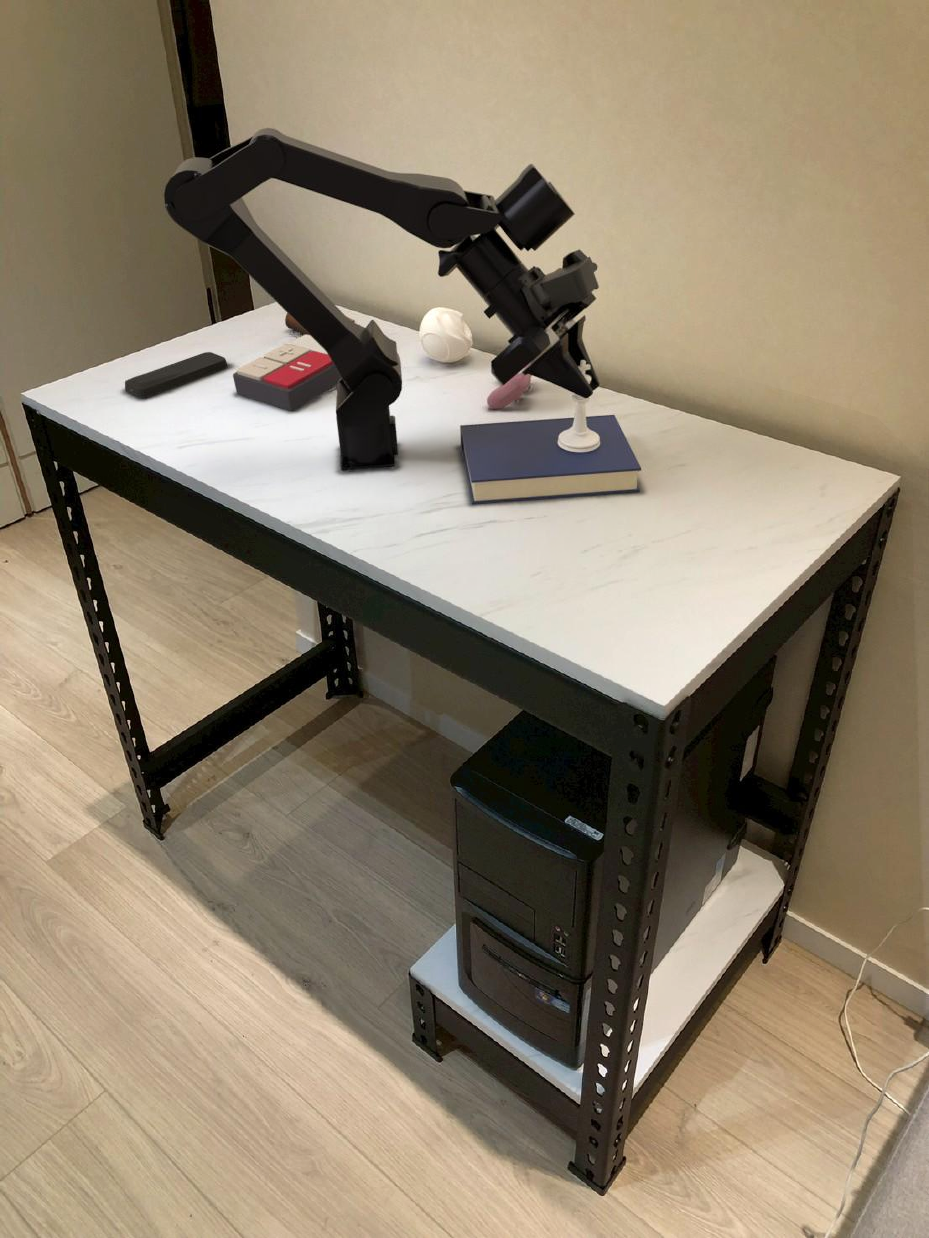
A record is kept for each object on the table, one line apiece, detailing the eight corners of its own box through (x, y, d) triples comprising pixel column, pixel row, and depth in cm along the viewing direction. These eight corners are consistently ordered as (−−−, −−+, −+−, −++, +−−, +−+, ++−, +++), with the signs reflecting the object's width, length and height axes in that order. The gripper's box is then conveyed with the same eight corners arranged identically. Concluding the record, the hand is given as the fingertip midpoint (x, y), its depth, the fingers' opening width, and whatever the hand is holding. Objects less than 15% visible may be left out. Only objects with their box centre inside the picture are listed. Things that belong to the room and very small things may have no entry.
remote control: (211, 362, 147) (122, 390, 138) (209, 350, 146) (119, 378, 137) (231, 370, 144) (141, 399, 135) (229, 358, 143) (139, 387, 134)
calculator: (229, 369, 134) (305, 329, 143) (236, 398, 136) (309, 357, 145) (287, 386, 128) (362, 344, 137) (293, 416, 131) (365, 372, 140)
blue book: (472, 504, 110) (471, 480, 108) (460, 447, 121) (460, 425, 119) (639, 491, 111) (641, 468, 109) (612, 436, 122) (614, 414, 120)
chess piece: (550, 438, 115) (553, 356, 109) (586, 430, 117) (591, 349, 111) (570, 456, 112) (574, 372, 106) (607, 447, 113) (614, 364, 107)
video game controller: (513, 422, 129) (538, 379, 125) (483, 406, 129) (506, 362, 125) (525, 392, 137) (548, 350, 133) (496, 376, 137) (518, 334, 132)
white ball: (472, 370, 140) (471, 317, 135) (419, 372, 140) (416, 319, 135) (473, 349, 146) (471, 298, 142) (422, 351, 146) (419, 299, 142)
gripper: (520, 257, 95) (621, 383, 98) (583, 210, 108) (670, 321, 111) (448, 327, 102) (544, 441, 105) (516, 274, 116) (599, 376, 119)
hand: (593, 392), depth 110 cm, fingers closed on chess piece
